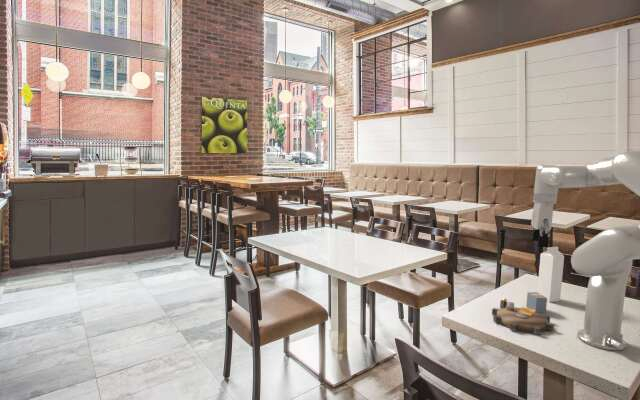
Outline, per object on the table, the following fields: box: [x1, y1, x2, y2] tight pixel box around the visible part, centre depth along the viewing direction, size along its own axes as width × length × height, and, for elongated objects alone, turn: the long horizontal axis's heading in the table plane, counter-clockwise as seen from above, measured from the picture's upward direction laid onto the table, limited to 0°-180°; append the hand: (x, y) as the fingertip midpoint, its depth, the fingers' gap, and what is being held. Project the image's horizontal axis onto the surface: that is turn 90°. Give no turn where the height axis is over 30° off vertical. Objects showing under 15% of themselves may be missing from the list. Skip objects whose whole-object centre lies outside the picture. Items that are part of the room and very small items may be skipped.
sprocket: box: [491, 301, 555, 336], centre depth 137 cm, size 20×20×4 cm
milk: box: [536, 246, 565, 303], centre depth 159 cm, size 6×6×22 cm
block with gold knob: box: [499, 298, 508, 309], centre depth 150 cm, size 2×2×4 cm
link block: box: [525, 291, 548, 314], centre depth 149 cm, size 6×4×6 cm, turn 2°
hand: (539, 243), depth 146 cm, fingers open, 9 cm apart
